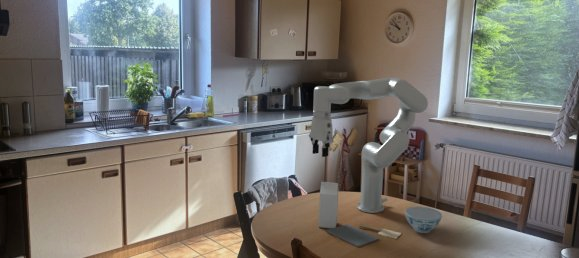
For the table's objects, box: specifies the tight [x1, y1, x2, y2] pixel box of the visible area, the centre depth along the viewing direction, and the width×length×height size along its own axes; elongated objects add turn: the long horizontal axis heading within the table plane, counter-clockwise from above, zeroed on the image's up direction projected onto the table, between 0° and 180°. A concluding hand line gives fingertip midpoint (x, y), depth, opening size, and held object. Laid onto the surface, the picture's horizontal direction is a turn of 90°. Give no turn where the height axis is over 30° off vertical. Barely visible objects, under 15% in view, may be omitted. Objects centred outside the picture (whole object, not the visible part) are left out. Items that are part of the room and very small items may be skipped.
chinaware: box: [404, 205, 443, 234], centre depth 207 cm, size 15×15×8 cm
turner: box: [358, 224, 402, 240], centre depth 205 cm, size 6×17×1 cm, turn 58°
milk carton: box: [318, 181, 339, 229], centre depth 209 cm, size 7×7×19 cm
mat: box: [326, 223, 380, 248], centre depth 200 cm, size 12×18×1 cm, turn 38°
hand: (320, 154), depth 219 cm, fingers open, 5 cm apart
